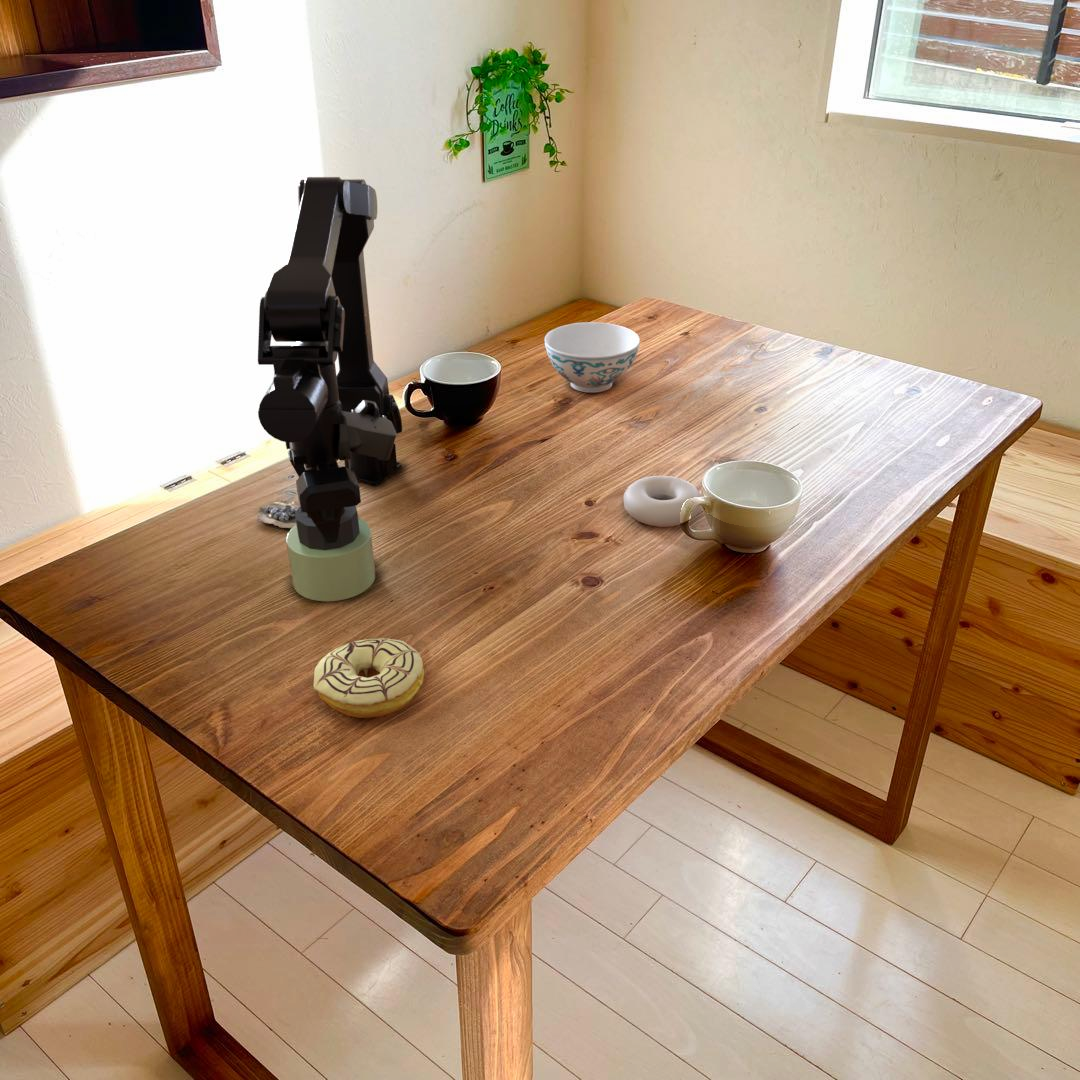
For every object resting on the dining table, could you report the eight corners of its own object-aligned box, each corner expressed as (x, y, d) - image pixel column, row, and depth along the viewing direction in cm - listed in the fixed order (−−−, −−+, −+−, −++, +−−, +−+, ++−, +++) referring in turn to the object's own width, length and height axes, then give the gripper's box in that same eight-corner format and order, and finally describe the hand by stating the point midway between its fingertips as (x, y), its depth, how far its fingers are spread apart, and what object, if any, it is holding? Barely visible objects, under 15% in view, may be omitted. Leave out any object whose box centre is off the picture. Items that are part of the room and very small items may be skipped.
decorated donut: (347, 651, 117) (343, 622, 115) (440, 670, 114) (438, 640, 112) (298, 711, 109) (294, 681, 107) (397, 734, 106) (394, 703, 104)
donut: (617, 528, 139) (697, 535, 137) (618, 504, 137) (699, 510, 135) (628, 491, 147) (703, 496, 145) (628, 468, 145) (705, 473, 143)
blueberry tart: (263, 504, 145) (261, 491, 144) (324, 503, 145) (322, 490, 144) (252, 530, 139) (250, 517, 138) (316, 529, 139) (314, 516, 138)
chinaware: (641, 403, 171) (643, 356, 167) (544, 403, 171) (543, 357, 167) (635, 366, 184) (637, 321, 180) (545, 366, 184) (544, 322, 180)
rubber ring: (288, 546, 124) (285, 523, 123) (313, 516, 130) (310, 494, 128) (345, 553, 123) (343, 529, 121) (367, 522, 128) (365, 500, 127)
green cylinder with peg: (275, 588, 128) (264, 521, 123) (326, 549, 135) (318, 484, 130) (342, 610, 124) (334, 541, 119) (391, 569, 131) (385, 502, 126)
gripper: (403, 426, 112) (413, 556, 120) (372, 360, 127) (383, 479, 135) (292, 441, 109) (310, 573, 117) (274, 371, 125) (291, 493, 133)
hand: (327, 526), depth 126 cm, fingers closed on rubber ring, 7 cm apart
